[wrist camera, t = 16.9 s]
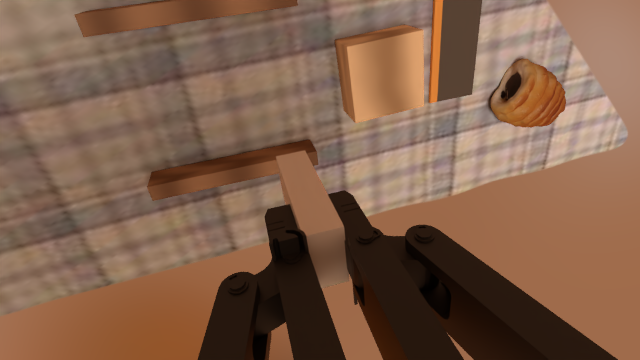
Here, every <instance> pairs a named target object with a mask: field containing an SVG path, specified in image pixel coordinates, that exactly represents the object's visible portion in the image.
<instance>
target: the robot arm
mask: <svg viewBox="0 0 640 360" xmlns="http://www.w3.org/2000/svg"><path fill="white" fill-rule="evenodd" d="M276 160H277V165H278V170H279V175H280V180H281V185H282V190H283V195H284V201H285V204H286V205H284V206H279V207H275V208H271V209H268V210H267V212H266V215H265V222H266V227H267V232H268V236H269V246H270V250H271V254H272V260H271V262H270V264H269V265H268V266H267V267H266V268H265V269H264V270H263V271H261V272H259V273H258V274H256V275H253V274H251V273H249V272H238V273H234V274H232V275H230V276H228V277H227V278H226V279H225V280H224V281H222V283H221V285H220V287H219V289H218V292H217V295H216V299H215V302H214V306H213V309H212V313H211V316H210V320H209V323H208V326H207V330H206V333H205V336H204V340H203V343H202V347H201V350H200V353H199V357H198V360H269V351H270V343H271V331H272V330H274V329H275V328H277V327H279V326H280V325H282V324H283V323H285V322H286V324H287V329H288V334H289V339H290V343H291V348H292V353H293V358H294V360H346V358H345V355H344V352H343V350H342V347H341V344H340V341H339V338H338V335H337V332H336V329H335V327H334V323H333V321H332V318H331V315H330V312H329V309H328V306H327V303H326V300H325V298H324V295H323V291H322V288H326V287H329V286H333V285H337V284H340V283H343V282H347V281H349V274H350V276H351V278H352V282H353V294H354V303H355V305H356V304H358V303H357V300H358V302H359V305H360V307H361V309H362V312H363V314H364V316H365V318H366V321H367V323H368V325H369V328H370V330H371V332H372V334H373V337H374V339H375V341H376V344H377V346H378V348H379V351H380V353H381V355H382V358H383V360H464V359H463V357H462V356H461V354H460V353H459V351H458V350H457V348H456V347H455V345H454V343H453V342H452V340H451V339H450V337H449V336H448V334H449V335H450V336H451V337H452V338H453V339H454V340H455V341H456V342H457V343H458V344H459V345H460V346H461V347H462V348H463V349H464V350H465V351H466V352H467V353H468V354H469V355H470V356H471V357H472V358H473V359H474V360H618V359H616V358H615V357H613V356H612V355H611V354H609V353H608V352H607V351H605V350H604V349H602V348H601V347H600V346H598V345H597V344H595V343H594V342H593V341H591V340H590V339H589V338H587V337H586V336H584V335H583V334H582V333H580V332H579V331H578V330H576V329H575V328H573V327H572V326H571V325H569V324H568V323H567V322H565V321H564V320H562V319H561V318H560V317H558V316H557V315H555V314H554V313H553V312H551V311H550V310H549V309H547V308H546V307H544V306H543V305H542V304H540V303H539V302H538V301H536V300H535V299H533V298H532V297H531V296H529V295H528V294H526V293H525V292H524V291H522V290H521V289H519V288H518V287H517V286H515V285H514V284H513V283H511V282H510V281H509V280H507V279H506V278H504V277H503V276H501V275H500V274H499V273H498V272H496V271H495V270H493V269H492V268H491V267H489V266H488V265H486V264H485V263H484V262H482V261H481V260H480V259H478V258H477V257H475V256H474V255H473V254H471V253H470V252H469V251H467V250H466V249H464V248H463V247H462V246H460V245H459V244H457V243H456V242H455V241H453V240H452V239H451V238H449V237H448V236H446V235H445V234H444V233H442V232H441V231H440V230H438V229H436V228H434V227H432V226H428V225H416V226H413V227H411V228H409V229H408V230H407V232H406V235H405V236H386V235H383V233H382V232H381V231H380V230H379V229H376V228H374V227H372V226H371V224H370V222H369V221H368V219H367V218H366V216H365V214H364V213H363V211H362V210H361V209H360V206H359V205H358V203H357V202H356V200H355V198H354V197H353V195H351V194H350V193H348V192H346V191H345V190H344V191H340V192H336V193H331V194H327V192H326V190H325V188H324V186H323V184H322V182H321V180H320V179H319V177H318V175H317V173H316V171H315V169H314V167H313V165H312V163H311V161H310V159H309V157H308V155H307V153H306V151H305V150H304V151H299V152H294V153H290V154H285V155H280V156H276ZM446 332H447V333H448V334H447V333H446Z"/></svg>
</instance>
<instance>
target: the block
mask: <svg viewBox="0 0 640 360" xmlns="http://www.w3.org/2000/svg"><path fill="white" fill-rule="evenodd" d="M335 47H336V54H337V62H338V69H339V77H340V85H341V92H342V100H343V107H344V111H345V112H346V113H347V114H348V115H349V117H350V118H351V119H352V120H353V121H354V122H355V123H358V122H362V121H366V120H370V119H374V118H378V117H382V116H386V115H390V114H394V113H398V112H402V111H406V110H410V109H414V108H418V107H422V106H424V57H423V30H422V29H418V28H415V27H411V26H407V25H400V26H396V27H391V28H387V29H382V30H378V31H373V32H369V33H364V34H360V35H355V36H351V37H346V38H342V39H337V40H335Z"/></svg>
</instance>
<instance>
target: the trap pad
mask: <svg viewBox="0 0 640 360" xmlns="http://www.w3.org/2000/svg"><path fill="white" fill-rule="evenodd" d="M481 5H482V0H433V19H432V41H431V63H430V85H429V102H430V103H432V102H437V101H442V100H447V99H452V98H457V97H462V96H466V95H471V94H472V89H473V79H474V70H475V61H476V52H477V42H478V33H479V24H480V14H481Z"/></svg>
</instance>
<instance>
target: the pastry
mask: <svg viewBox="0 0 640 360" xmlns="http://www.w3.org/2000/svg"><path fill="white" fill-rule="evenodd" d="M564 95H565V91H564V89H563V88H562V85H561V84H560V82H558V81H557V79H556V76H555V75H553V74H552V72H549V71H547V69H546V68H545V67H543V66H540V65H537V64H534V63H532V62H530V61H529V60H528V59H521V60H519V61H517V62H515V63H513V65H512V66H511V67H509V69H508V70H507V71H506V73H505V74H504V76H503V79H502V81H501V83H500V86H499V88H498V89H497V90H496V91H495V93H494V94H493V96H492V98H491V109H492V111H493V113H494V114H495V115H496V117H497V118H498V119H499V120H500V121H503V122H507V123H509V124H512V125H514V126H521V127H534V126H540V127H541V126H547V125H549V124H551V123H552V122H553V121H554V120H555V119H556V118H557V117H558V115H559V114H560V113H561V112H563V111H564V110H565V104H566V99H565V96H564Z"/></svg>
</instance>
